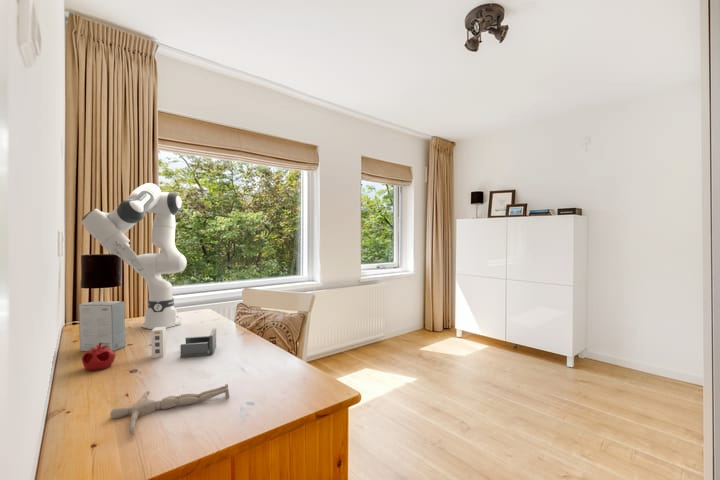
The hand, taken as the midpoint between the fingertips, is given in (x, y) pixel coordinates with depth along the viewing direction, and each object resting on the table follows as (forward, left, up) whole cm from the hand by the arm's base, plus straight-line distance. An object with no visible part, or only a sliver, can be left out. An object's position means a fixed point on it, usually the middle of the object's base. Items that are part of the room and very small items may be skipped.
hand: (141, 269), depth 148 cm
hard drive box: (-8, -18, -35) cm, 40 cm away
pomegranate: (+16, -10, -35) cm, 40 cm away
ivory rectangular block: (+8, +8, -35) cm, 36 cm away
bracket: (+8, +23, -34) cm, 42 cm away
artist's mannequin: (+56, +24, -35) cm, 71 cm away
